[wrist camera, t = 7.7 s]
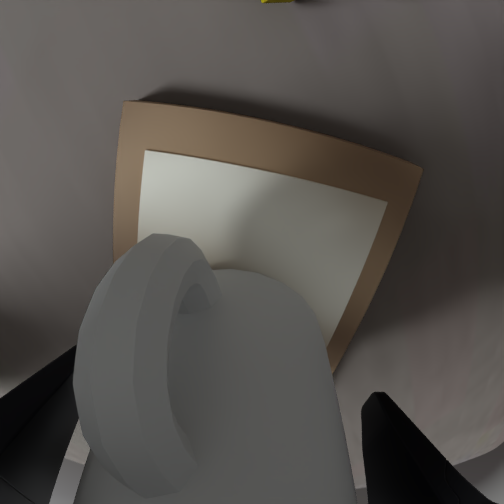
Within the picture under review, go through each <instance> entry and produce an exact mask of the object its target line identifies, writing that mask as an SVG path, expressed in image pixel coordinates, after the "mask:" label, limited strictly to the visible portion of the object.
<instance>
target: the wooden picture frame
mask: <svg viewBox="0 0 504 504" xmlns="http://www.w3.org/2000/svg"><path fill="white" fill-rule="evenodd" d="M423 170H424V169H423V168H421V167H419V166H417V165H415V164H413V163H411V162H409V161H406V160H403V159H401V158H398V157H395V156H392V155H390V154H387V153H384V152H381V151H378V150H375V149H372V148H369V147H366V146H363V145H360V144H357V143H353V142H350V141H347V140H344V139H340V138H337V137H333V136H330V135H326V134H323V133H319V132H315V131H312V130H308V129H304V128H300V127H296V126H292V125H288V124H284V123H279V122H275V121H270V120H266V119H261V118H256V117H251V116H246V115H241V114H236V113H230V112H225V111H219V110H213V109H206V108H200V107H193V106H186V105H178V104H169V103H160V102H151V101H139V100H133V101H124V102H123V109H122V116H121V123H120V132H119V141H118V150H117V161H116V174H115V190H114V213H113V264H114V263H115V261H117V260H118V259H119V258H120V257H121V256H122V255H124V254H125V253H126V252H127V251H128V250H129V249H131V248H132V247H133V246H134V245H136V244H137V243H139V242H140V241H142V240H143V239H145V238H146V237H148V236H149V235H151V234H152V233H156V234H170V235H175V236H180V237H184V238H189V239H191V240H192V241H193V242H194V243H195V244H196V245H197V246H198V247H199V248H200V249H201V250H202V252H203V254H204V256H205V258H206V260H207V261H208V263H209V265H210V267H211V269H212V270H219V269H236V270H243V271H249V272H256V273H260V274H262V275H265V276H267V277H270V278H273V279H275V280H278V281H280V282H283V283H284V284H286V285H287V286H288V287H290V288H291V289H292V290H294V291H295V292H297V293H298V294H299V295H301V296H302V297H303V298H304V299H305V301H306V302H307V303H308V305H309V306H310V307H311V309H312V310H313V311H314V313H315V315H316V318H317V321H318V323H319V326H320V329H321V333H322V336H323V339H324V342H325V346H326V350H327V354H328V359H329V363H330V367H331V372H332V374H333V372H334V370H335V369H336V367H337V365H338V363H339V362H340V360H341V358H342V356H343V355H344V353H345V351H346V349H347V347H348V345H349V344H350V342H351V340H352V338H353V336H354V334H355V332H356V330H357V328H358V326H359V324H360V322H361V321H362V319H363V317H364V315H365V313H366V311H367V308H368V306H369V304H370V302H371V300H372V298H373V296H374V294H375V292H376V290H377V287H378V285H379V283H380V281H381V279H382V277H383V274H384V272H385V270H386V268H387V265H388V263H389V261H390V258H391V256H392V254H393V251H394V249H395V246H396V244H397V241H398V239H399V237H400V234H401V231H402V229H403V226H404V224H405V221H406V219H407V216H408V213H409V210H410V208H411V205H412V202H413V199H414V197H415V194H416V191H417V188H418V185H419V182H420V179H421V176H422V173H423Z"/></svg>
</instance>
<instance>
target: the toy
mask: <svg viewBox="0 0 504 504" xmlns="http://www.w3.org/2000/svg"><path fill="white" fill-rule="evenodd" d="M292 1H294V0H261V2H262V3H282V2H292Z"/></svg>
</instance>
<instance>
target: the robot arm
mask: <svg viewBox="0 0 504 504" xmlns="http://www.w3.org/2000/svg"><path fill="white" fill-rule="evenodd" d="M76 349H77V345H75V346H74V347H72V348H71V349H69V350H68V351H67V352H65V353H64V354H62V355H61V356H59V357H58V358H57V359H55V360H54V361H52V362H51V363H49V364H48V365H47V366H45V367H44V368H42V369H41V370H39V371H38V372H37V373H35V374H34V375H32V376H31V377H29V378H28V379H27V380H25V381H24V382H22V383H21V384H20V385H18V386H17V387H15V388H14V389H13V390H11V391H10V392H8V393H7V394H6V395H4V396H3V397H1V398H0V504H49V502H50V498H51V495H52V492H53V489H54V486H55V483H56V479H57V476H58V474H59V470H60V467H61V465H62V462H63V459H64V456H65V453H66V451H67V448H68V445H69V443H70V440H71V437H72V435H73V432H74V429H75V427H76V424H77V422H78V419H79V415H78V410H77V405H76V400H75V394H74V388H73V375H74V366H75V357H76ZM361 419H362V450H363V459H364V467H365V476H366V485H367V494H368V504H497V503H495V502H492V501H491V500H489V499H488V498H486V497H485V496H484V495H483V494H482V493H481V492H480V491H478V490H477V489H476V488H475V487H474V486H473V485H472V484H471V483H469V482H468V481H467V480H466V479H465V478H464V477H463V476H462V475H461V474H460V473H459V472H458V471H457V470H456V469H455V468H454V467H453V466H452V465H451V464H450V462H449V461H448V460H446V458H445V457H444V456H443V455H442V454H441V453H440V452H439V450H438V449H437V448H436V447H435V446H434V445H433V444H432V443H431V442H430V441H429V440H428V438H427V437H426V436H425V435H424V434H423V433H422V432H421V431H420V430H419V429H418V428H417V426H416V425H415V424H414V423H413V422H412V421H411V420H410V419H409V418H408V417H407V415H406V414H405V413H404V412H403V411H402V410H401V409H400V408H399V407H398V406H397V405H396V403H395V402H394V401H393V400H392V399H391V398H390V397H389V396H388V395H387V394H386V393H385V392H374V393H372V394H371V395H370V397H369V398H368V399H367V401H366V402H365V403H364V405H363V407H362V410H361Z"/></svg>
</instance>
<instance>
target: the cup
mask: <svg viewBox="0 0 504 504" xmlns="http://www.w3.org/2000/svg"><path fill="white" fill-rule="evenodd" d="M73 388H74V394H75V400H76V405H77V410H78V415H79V420H80V425H81V429H82V433H83V436H84V438H85V440H86V441H87V443H88V445H89V446H90V448H91V449H90V452H89V454H88V457H87V461H86V464H85V467H84V470H83V473H82V476H81V479H80V483H79V486H78V489H77V492H76V496H75V500H74V503H73V504H357V499H356V492H355V487H354V481H353V475H352V469H351V464H350V459H349V453H348V448H347V443H346V438H345V433H344V428H343V423H342V418H341V413H340V408H339V403H338V399H337V394H336V390H335V385H334V381H333V376H332V372H331V367H330V363H329V359H328V354H327V350H326V346H325V342H324V339H323V336H322V333H321V329H320V326H319V323H318V321H317V318H316V315H315V313H314V311H313V310H312V309H311V307H310V306H309V305H308V303H307V302H306V301H305V299H304V298H303V297H302V296H301V295H299V294H298V293H297V292H295V291H294V290H292V289H291V288H290V287H288V286H287V285H286V284H284V283H283V282H280V281H278V280H275V279H273V278H270V277H267V276H265V275H262V274H260V273H256V272H249V271H243V270H236V269H219V270H212V269H211V267H210V265H209V263H208V261H207V260H206V258H205V256H204V254H203V252H202V250H201V249H200V248H199V247H198V246H197V245H196V244H195V243H194V242H193V241H192V240H191V239H189V238H184V237H180V236H175V235H170V234H156V233H152V234H151V235H149V236H148V237H146V238H145V239H143V240H142V241H140V242H139V243H137V244H136V245H134V246H133V247H132V248H131V249H129V250H128V251H127V252H126V253H125V254H124V255H122V256H121V257H120V258H119V259H118V260H117V261H115V263H114V264H113V265H112V267H111V268H110V269H109V271H108V272H107V273H106V275H105V276H104V278H103V279H102V280H101V282H100V283H99V285H98V286H97V287H96V289H95V292H94V294H93V296H92V299H91V301H90V304H89V306H88V309H87V311H86V314H85V316H84V319H83V321H82V324H81V327H80V329H79V335H78V342H77V349H76V357H75V366H74V375H73Z"/></svg>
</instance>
